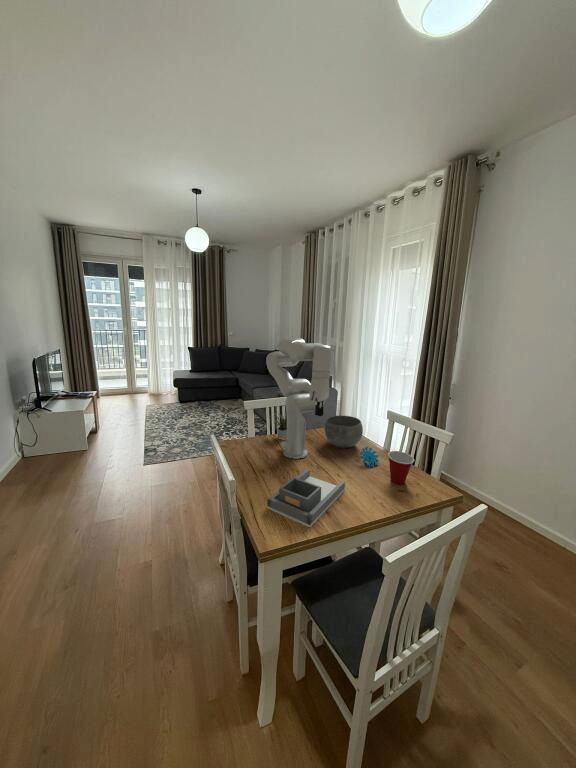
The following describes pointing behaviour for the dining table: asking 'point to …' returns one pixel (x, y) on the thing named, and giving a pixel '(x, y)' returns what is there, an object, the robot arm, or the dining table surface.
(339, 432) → the bowl
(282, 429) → the house plant
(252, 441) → the dining table surface
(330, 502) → the bay
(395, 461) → the plastic cup
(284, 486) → the crate
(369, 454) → the gear
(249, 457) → the dining table surface
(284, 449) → the robot arm
